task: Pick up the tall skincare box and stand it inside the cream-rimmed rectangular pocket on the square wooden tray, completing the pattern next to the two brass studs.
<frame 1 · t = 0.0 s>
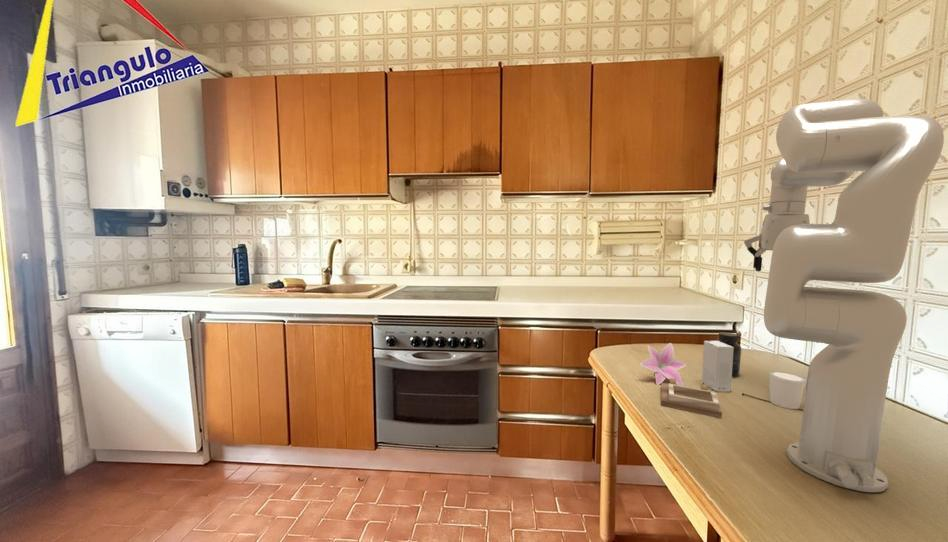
hand: (779, 272, 101), 31 cm above the table, tool pointing down, fingers open, 9 cm apart
white cylinder: (784, 404, 90), on the table
lily: (661, 381, 103), on the table
skincare box: (715, 387, 99), on the table
supplement bottle: (724, 374, 110), on the table
square wooden tray: (688, 401, 90), on the table
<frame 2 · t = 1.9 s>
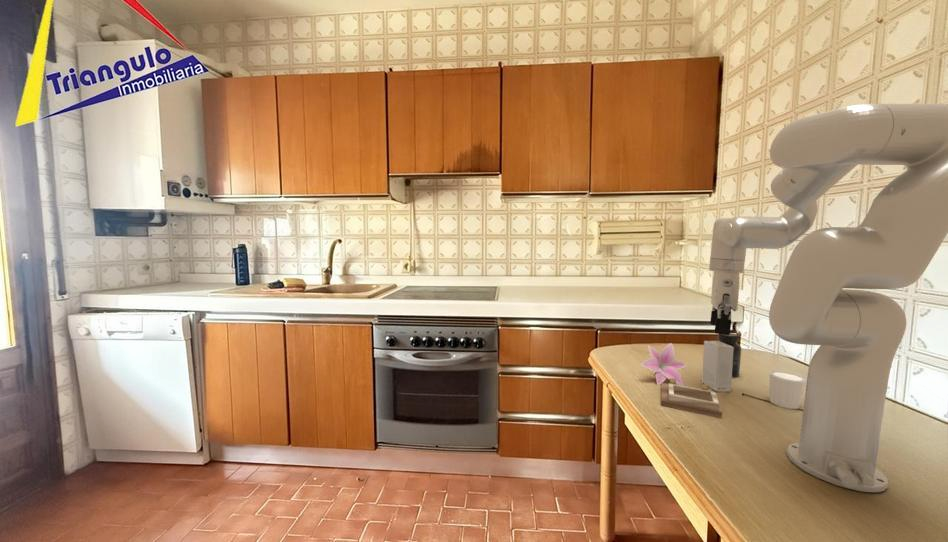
hand: (719, 329, 98), 16 cm above the table, tool pointing down, fingers open, 9 cm apart
nothing on the table moved.
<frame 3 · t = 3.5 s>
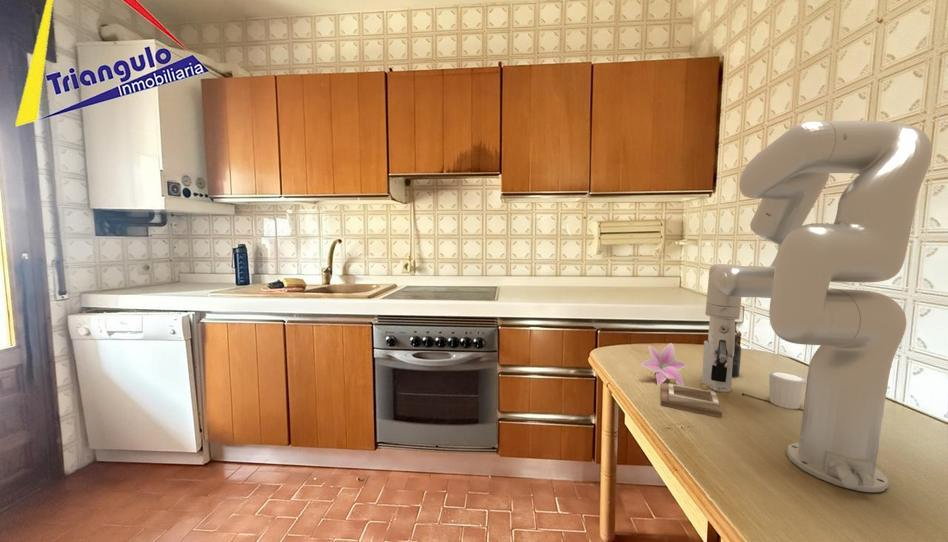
hand: (716, 375, 99), 3 cm above the table, tool pointing down, fingers closed on skincare box, 7 cm apart
skincare box: (715, 387, 99), on the table, touching gripper
everything else where it was.
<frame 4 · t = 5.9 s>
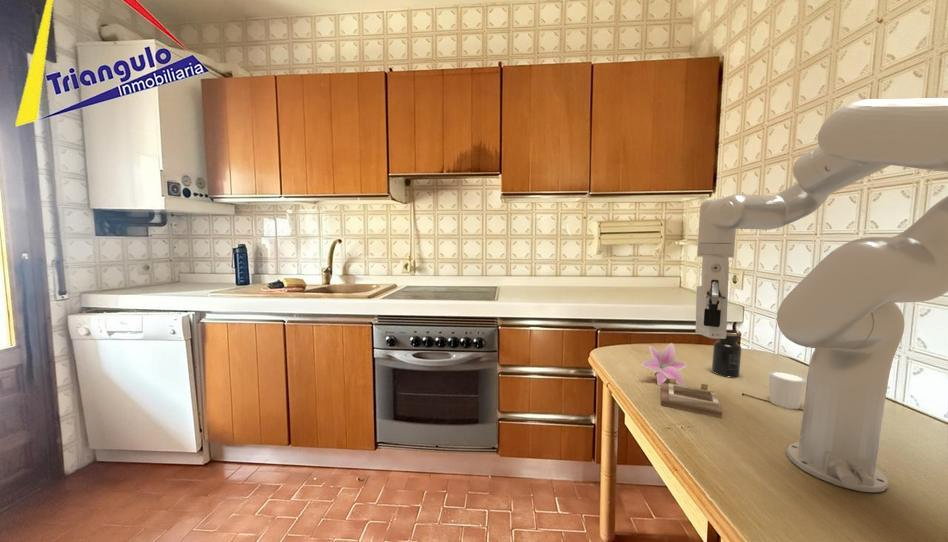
hand: (710, 322, 90), 19 cm above the table, tool pointing down, fingers closed on skincare box, 7 cm apart
skincare box: (709, 336, 91), point 16 cm above the table, touching gripper
everything else where it was.
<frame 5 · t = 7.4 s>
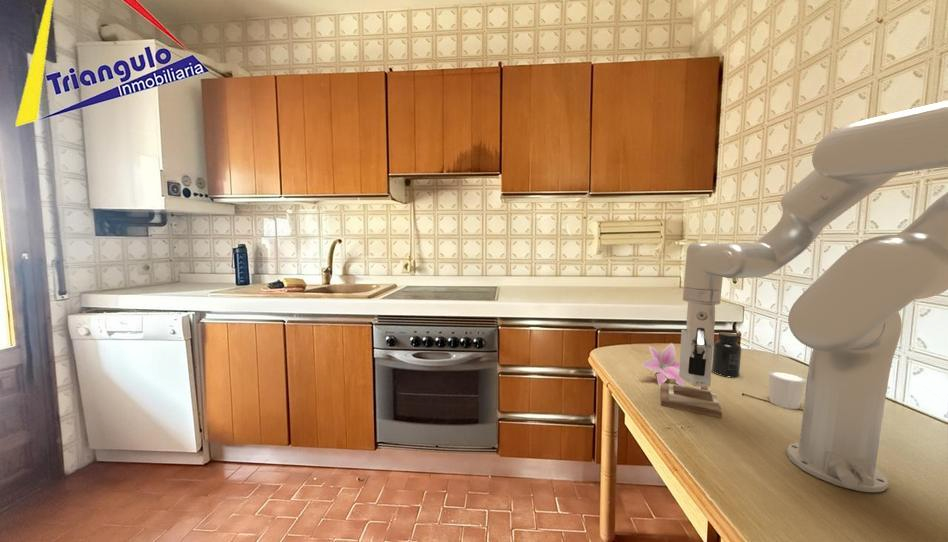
hand: (694, 368, 88), 9 cm above the table, tool pointing down, fingers closed on skincare box, 7 cm apart
skincare box: (693, 382, 88), point 5 cm above the table, touching gripper
everything else where it was.
when the fingers open (6 cm above the table, at t = 8.6 s): skincare box stays where it is, resting on square wooden tray.
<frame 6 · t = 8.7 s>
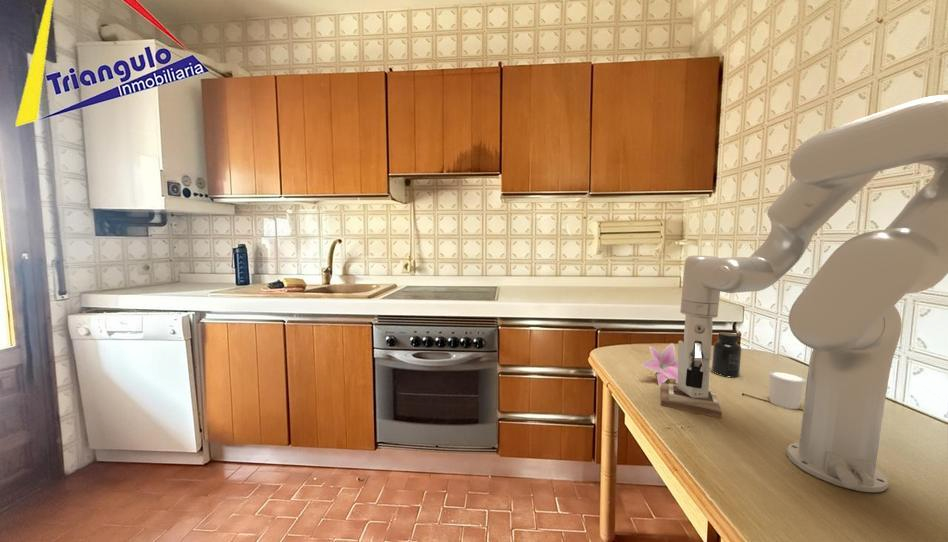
hand: (692, 380, 88), 6 cm above the table, tool pointing down, fingers open, 7 cm apart
skincare box: (691, 393, 88), point 3 cm above the table, touching square wooden tray
everything else where it was.
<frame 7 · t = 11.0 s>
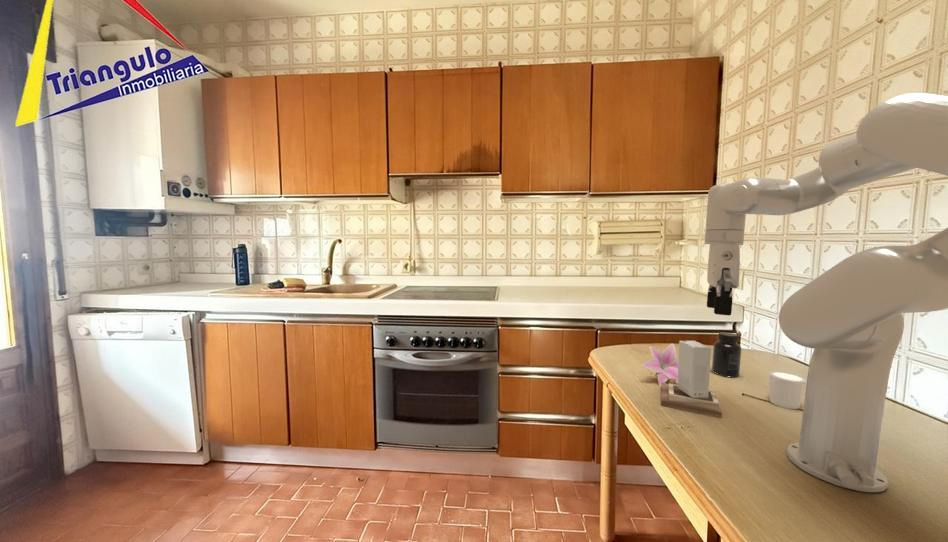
hand: (718, 311, 87), 23 cm above the table, tool pointing down, fingers open, 9 cm apart
nothing on the table moved.
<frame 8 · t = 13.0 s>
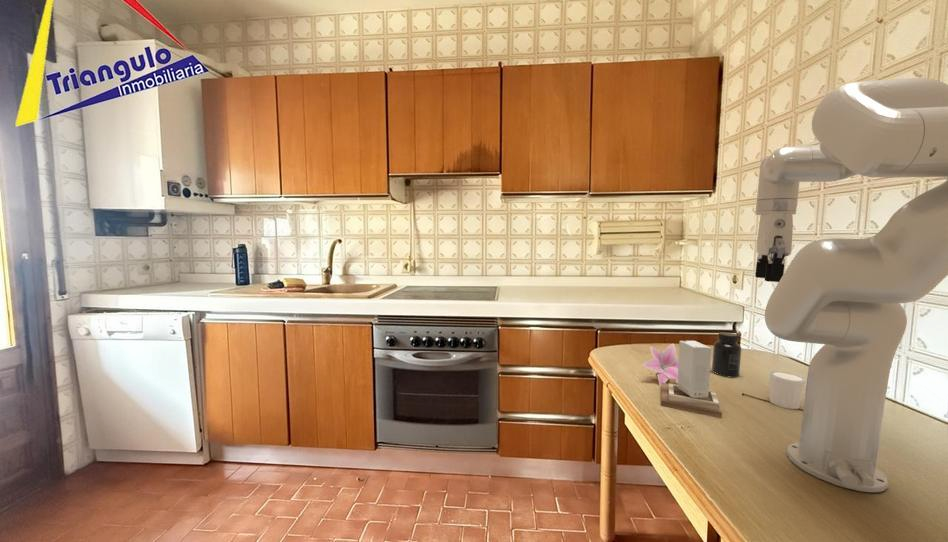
hand: (768, 279, 89), 30 cm above the table, tool pointing down, fingers open, 9 cm apart
nothing on the table moved.
at the end: skincare box 0.2 cm from the target spot on the square wooden tray, point 2.5 cm above the square wooden tray's base; skincare box tilted 0°; the gripper is holding nothing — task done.
